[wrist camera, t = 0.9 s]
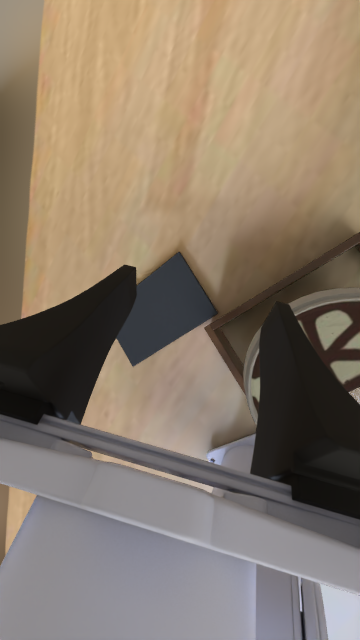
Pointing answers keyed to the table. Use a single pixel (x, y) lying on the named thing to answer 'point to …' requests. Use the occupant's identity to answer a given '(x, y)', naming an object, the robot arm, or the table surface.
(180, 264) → the rubber mat
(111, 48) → the table surface
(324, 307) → the food container
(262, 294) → the walnut tray
